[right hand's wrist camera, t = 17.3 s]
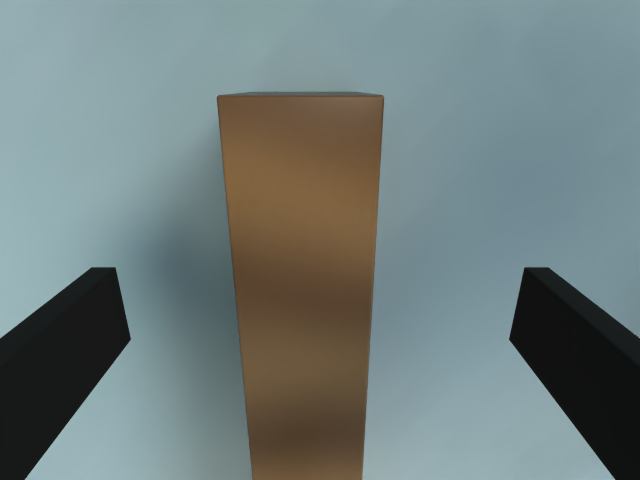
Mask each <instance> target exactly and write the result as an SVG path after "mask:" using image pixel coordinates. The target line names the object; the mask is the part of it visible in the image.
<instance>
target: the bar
mask: <svg viewBox="0 0 640 480" xmlns="http://www.w3.org/2000/svg"><path fill="white" fill-rule="evenodd" d="M217 106H218V116H219V127H220V138H221V148H222V159H223V170H224V180H225V191H226V201H227V212H228V223H229V233H230V244H231V255H232V265H233V276H234V287H235V297H236V308H237V319H238V329H239V340H240V350H241V361H242V372H243V382H244V393H245V404H246V414H247V425H248V436H249V446H250V457H251V467H252V478H253V480H362V473H363V455H364V438H365V421H366V403H367V386H368V369H369V351H370V334H371V317H372V300H373V282H374V265H375V248H376V230H377V213H378V196H379V178H380V161H381V144H382V127H383V109H384V96H382V95H377V94H369V93H361V92H246V93H237V94H227V95H219V96H217Z"/></svg>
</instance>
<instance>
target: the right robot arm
mask: <svg viewBox="0 0 640 480" xmlns="http://www.w3.org/2000/svg"><path fill="white" fill-rule="evenodd" d="M130 340H131V338H130V333H129V328H128V324H127V319H126V314H125V310H124V305H123V300H122V296H121V291H120V286H119V282H118V277H117V272H116V268H115V267H92V268H90V269H89V270H88V271H86V272H85V273H84V274H83V275H81V276H80V277H79V278H77V279H76V280H75V281H74V282H72V283H71V284H70V285H68V286H67V287H66V288H65V289H63V290H62V291H61V292H59V293H58V294H57V295H56V296H54V297H53V298H52V299H50V300H49V301H48V302H47V303H45V304H44V305H43V306H41V307H40V308H39V309H38V310H36V311H35V312H34V313H32V314H31V315H30V316H29V317H27V318H26V319H25V320H23V321H22V322H21V323H20V324H18V325H17V326H16V327H14V328H13V329H12V330H11V331H9V332H8V333H7V334H5V335H4V336H3V337H2V338H0V480H25V478H26V477H27V476H28V475H29V473H30V472H31V471H32V469H33V468H34V467H35V465H36V464H37V463H38V461H39V460H40V459H41V457H42V456H43V455H44V453H45V452H46V451H47V449H48V448H49V447H50V445H51V444H52V443H53V442H54V440H55V439H56V438H57V436H58V435H59V434H60V432H61V431H62V430H63V428H64V427H65V426H66V424H67V423H68V422H69V420H70V419H71V418H72V416H73V415H74V414H75V412H76V411H77V410H78V409H79V407H80V406H81V405H82V403H83V402H84V401H85V399H86V398H87V397H88V395H89V394H90V393H91V391H92V390H93V389H94V387H95V386H96V385H97V383H98V382H99V381H100V380H101V378H102V377H103V376H104V374H105V373H106V372H107V370H108V369H109V368H110V366H111V365H112V364H113V362H114V361H115V360H116V358H117V357H118V356H119V354H120V353H121V352H122V350H123V349H124V348H125V347H126V345H127V344H128V343H129V341H130ZM509 340H510V341H511V343H512V344H513V345H514V347H515V348H516V349H517V350H518V352H519V353H520V354H521V356H522V357H523V358H524V360H525V361H526V362H527V364H528V365H529V366H530V368H531V369H532V370H533V372H534V373H535V374H536V376H537V377H538V378H539V380H540V381H541V382H542V383H543V385H544V386H545V387H546V389H547V390H548V391H549V393H550V394H551V395H552V397H553V398H554V399H555V401H556V402H557V403H558V405H559V406H560V407H561V409H562V410H563V411H564V412H565V414H566V415H567V416H568V418H569V419H570V420H571V422H572V423H573V424H574V426H575V427H576V428H577V430H578V431H579V432H580V434H581V435H582V436H583V438H584V439H585V440H586V442H587V443H588V444H589V445H590V447H591V448H592V449H593V451H594V452H595V453H596V455H597V456H598V457H599V459H600V460H601V461H602V463H603V464H604V465H605V467H606V468H607V469H608V471H609V472H610V473H611V475H612V476H613V477H614V478H615V480H640V338H638V337H637V336H636V335H635V334H633V333H632V332H631V331H629V330H628V329H627V328H626V327H624V326H623V325H622V324H620V323H619V322H618V321H617V320H615V319H614V318H613V317H611V316H610V315H609V314H608V313H606V312H605V311H604V310H602V309H601V308H600V307H599V306H597V305H596V304H595V303H593V302H592V301H591V300H590V299H588V298H587V297H586V296H584V295H583V294H582V293H581V292H579V291H578V290H577V289H575V288H574V287H573V286H572V285H570V284H569V283H568V282H566V281H565V280H564V279H563V278H561V277H560V276H559V275H557V274H556V273H555V272H554V271H552V270H551V269H550V268H548V267H525V268H524V272H523V277H522V282H521V286H520V291H519V296H518V300H517V305H516V310H515V314H514V319H513V324H512V328H511V333H510V338H509Z"/></svg>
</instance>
